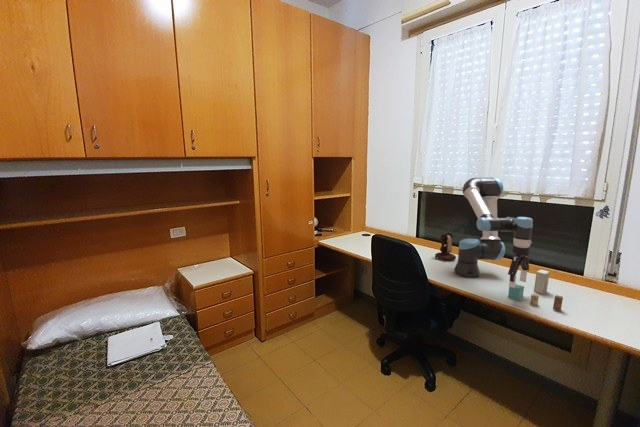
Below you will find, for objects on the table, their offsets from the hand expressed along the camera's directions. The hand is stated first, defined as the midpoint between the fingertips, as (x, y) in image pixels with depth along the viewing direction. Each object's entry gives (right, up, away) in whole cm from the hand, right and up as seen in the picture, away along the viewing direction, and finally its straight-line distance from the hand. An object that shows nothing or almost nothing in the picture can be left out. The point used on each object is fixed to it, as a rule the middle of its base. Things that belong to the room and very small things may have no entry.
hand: (517, 284), depth 158 cm
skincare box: (+19, -7, +9) cm, 22 cm away
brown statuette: (-11, +3, +67) cm, 68 cm away
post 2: (+12, -10, -12) cm, 19 cm away
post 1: (+4, -9, -6) cm, 12 cm away
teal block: (0, -8, +2) cm, 8 cm away
